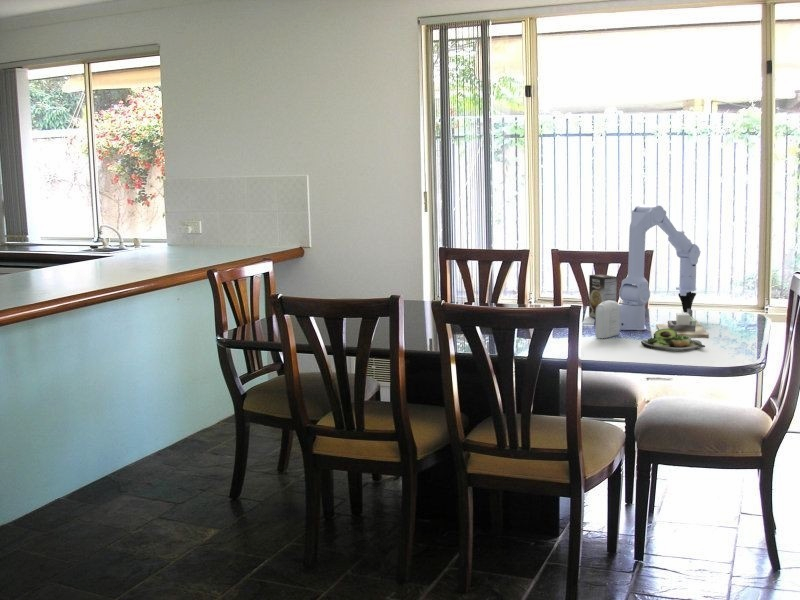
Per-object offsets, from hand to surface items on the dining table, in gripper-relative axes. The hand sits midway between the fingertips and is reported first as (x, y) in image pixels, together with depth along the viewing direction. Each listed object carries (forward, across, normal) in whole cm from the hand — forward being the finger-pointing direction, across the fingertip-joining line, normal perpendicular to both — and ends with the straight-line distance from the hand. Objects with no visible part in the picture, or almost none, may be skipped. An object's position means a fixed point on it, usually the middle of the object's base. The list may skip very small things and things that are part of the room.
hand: (686, 312), depth 323 cm
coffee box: (+3, +6, -30) cm, 31 cm away
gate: (+2, +11, +4) cm, 12 cm away
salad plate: (+3, +46, +5) cm, 47 cm away
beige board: (+3, +18, +1) cm, 18 cm away
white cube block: (+2, +22, +3) cm, 22 cm away
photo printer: (+3, +40, -18) cm, 44 cm away
